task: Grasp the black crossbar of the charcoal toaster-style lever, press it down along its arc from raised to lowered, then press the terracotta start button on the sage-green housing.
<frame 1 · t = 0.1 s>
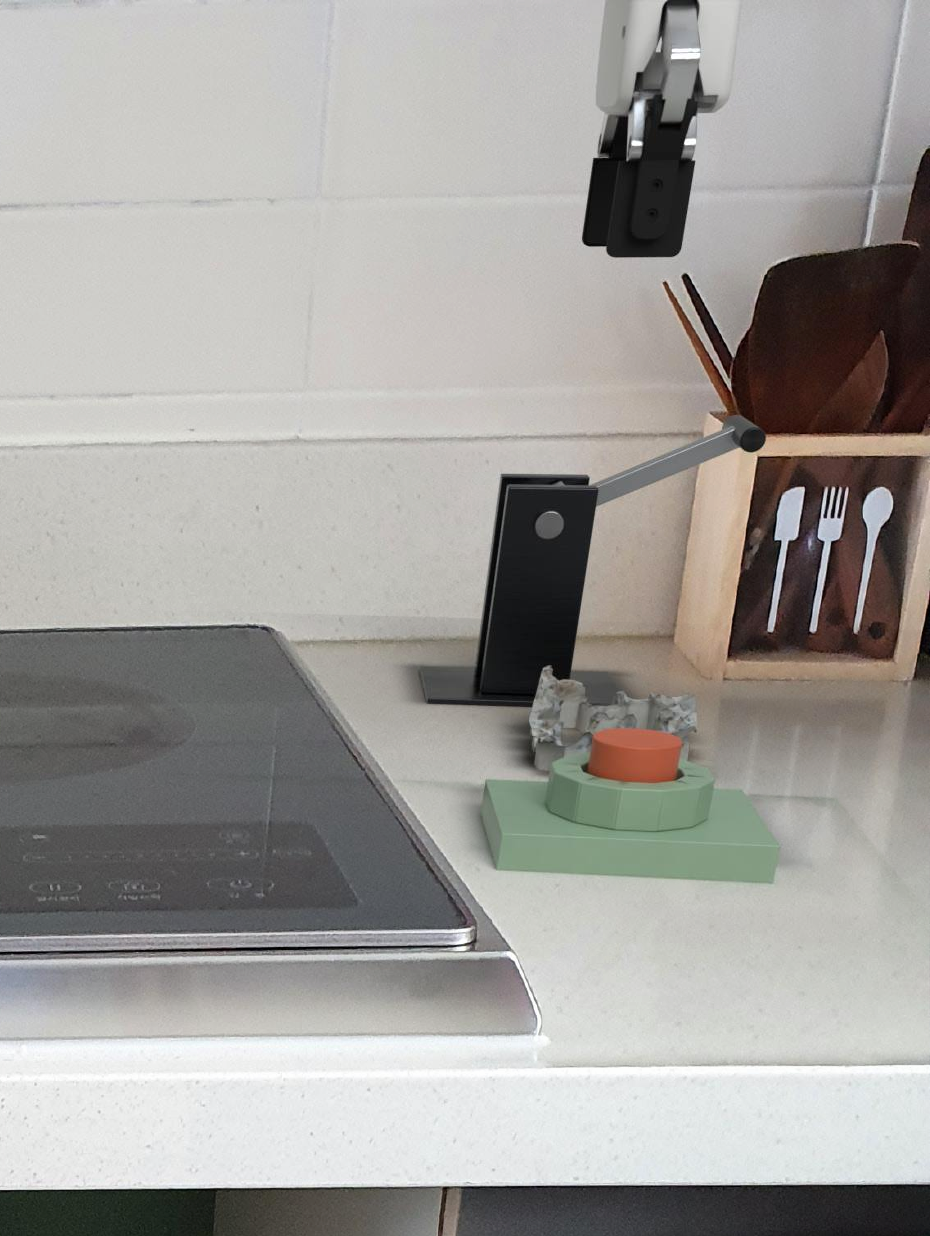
hand: (628, 251, 109), 23 cm above the countertop, tool pointing down, fingers open, 9 cm apart
egg carton: (604, 775, 111), on the countertop
button box: (619, 848, 100), on the countertop
lever: (634, 478, 117), point 12 cm above the countertop, hinge at 25.0°
button: (634, 758, 98), point 4 cm above the countertop, slide at 0.1 cm
bracket: (516, 706, 123), on the countertop
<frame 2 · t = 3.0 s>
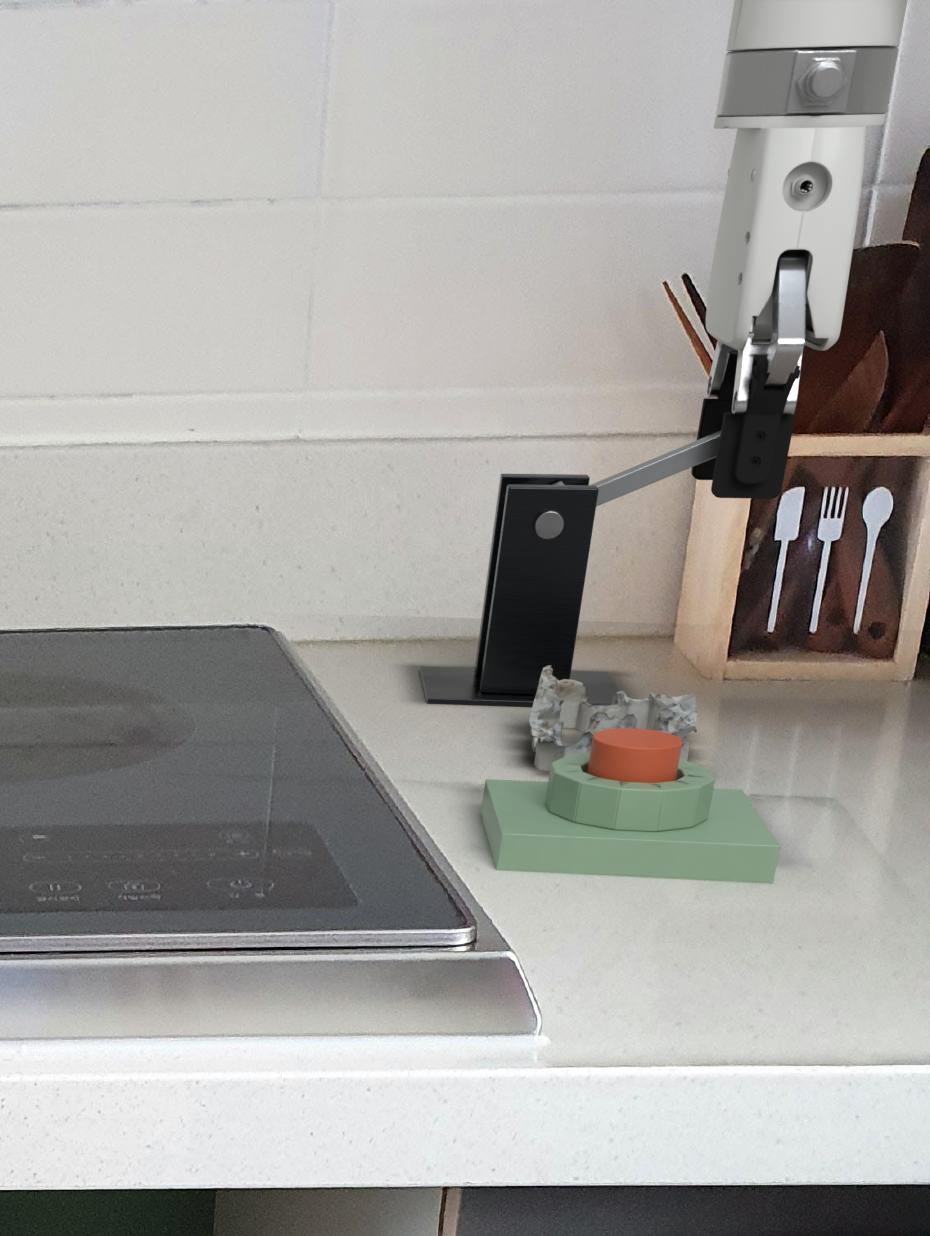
hand: (734, 484, 116), 12 cm above the countertop, tool pointing down, fingers closed on lever, 5 cm apart
lever: (634, 478, 117), point 12 cm above the countertop, hinge at 25.0°, touching gripper
everything else where it was.
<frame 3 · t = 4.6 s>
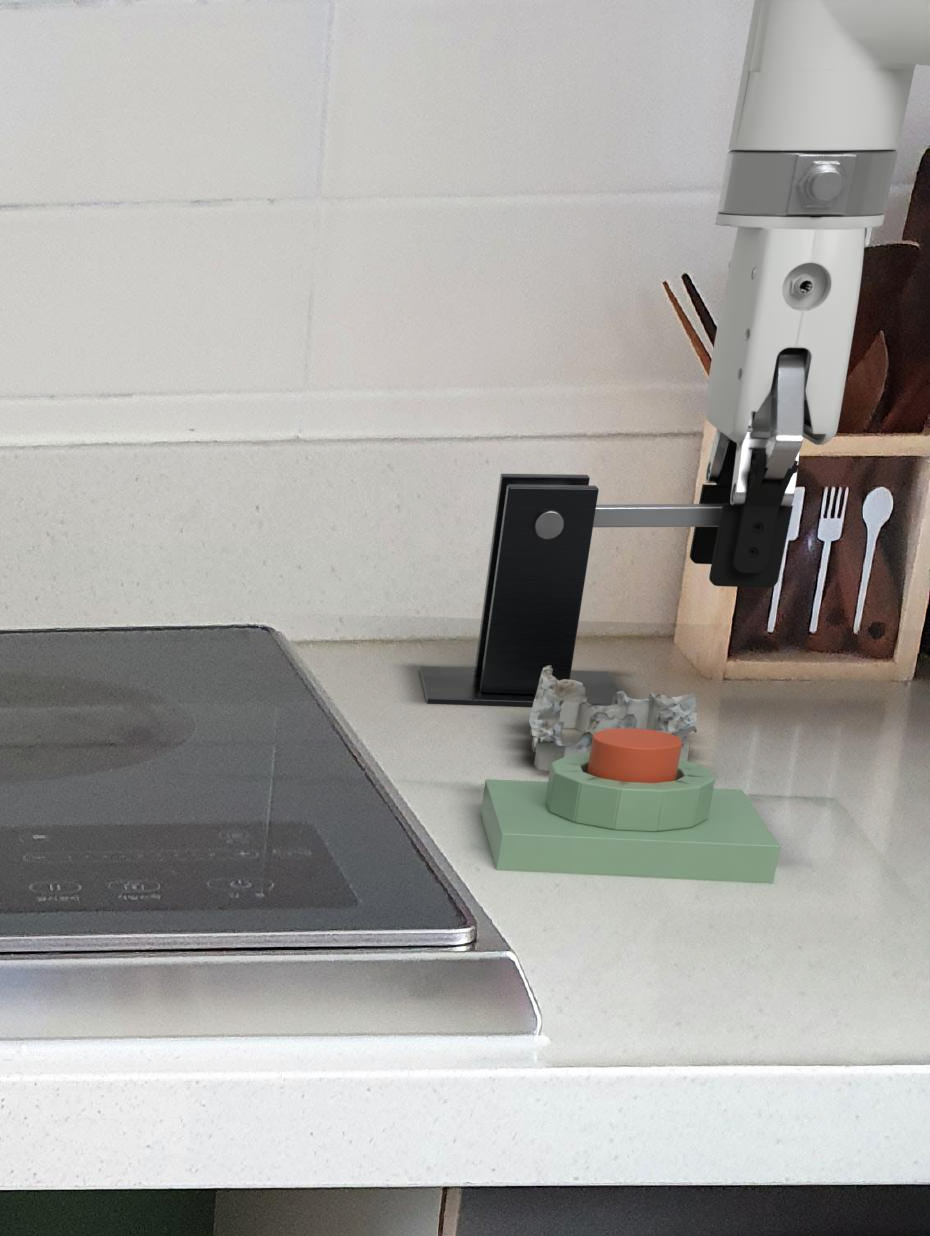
hand: (731, 570, 118), 7 cm above the countertop, tool pointing down, fingers closed on lever, 5 cm apart
lever: (636, 515, 118), point 10 cm above the countertop, hinge at 1.3°, touching gripper
everything else where it was.
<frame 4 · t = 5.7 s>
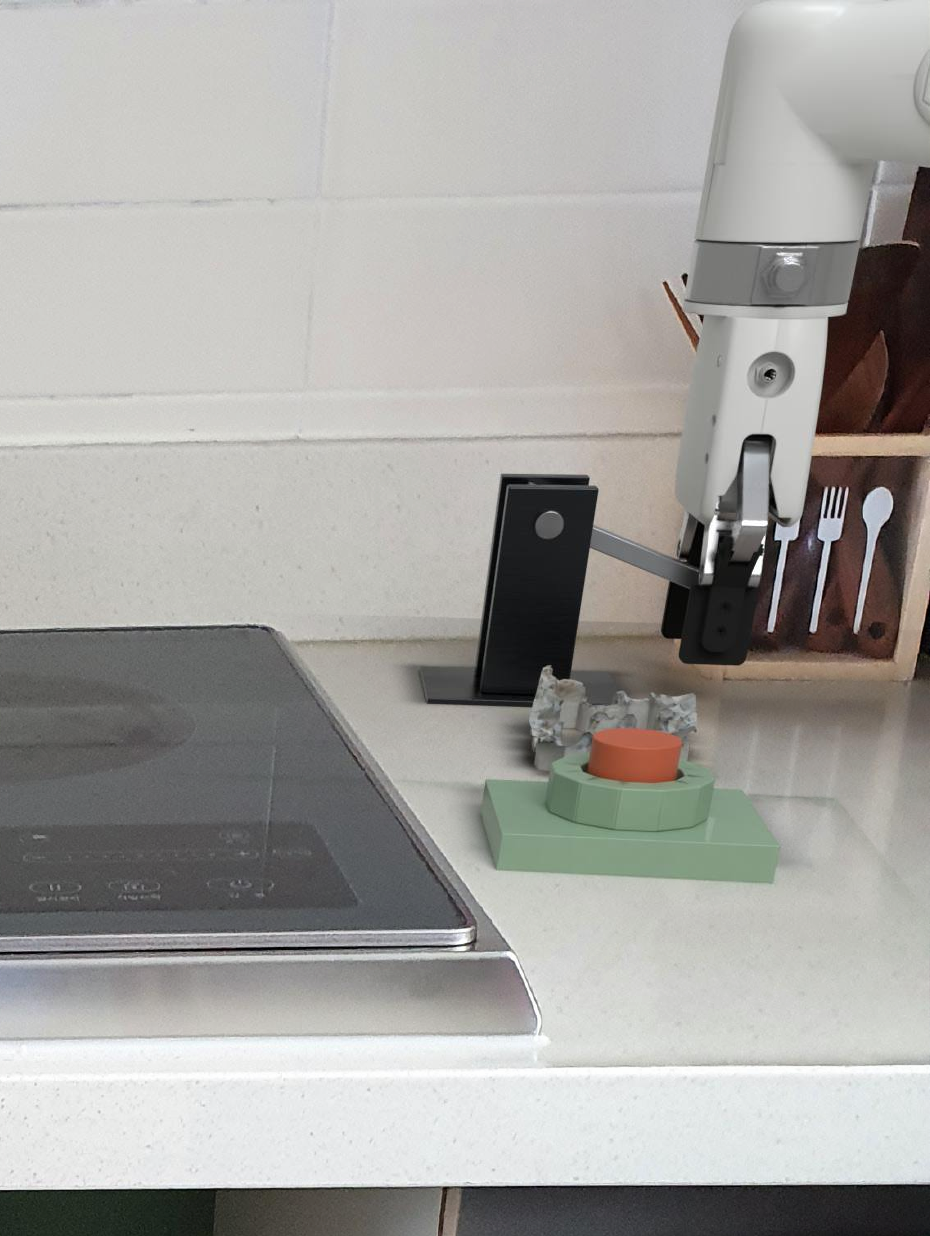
hand: (701, 647, 120), 3 cm above the countertop, tool pointing down, fingers closed on lever, 5 cm apart
lever: (625, 550, 119), point 8 cm above the countertop, hinge at -20.8°, touching gripper
everything else where it was.
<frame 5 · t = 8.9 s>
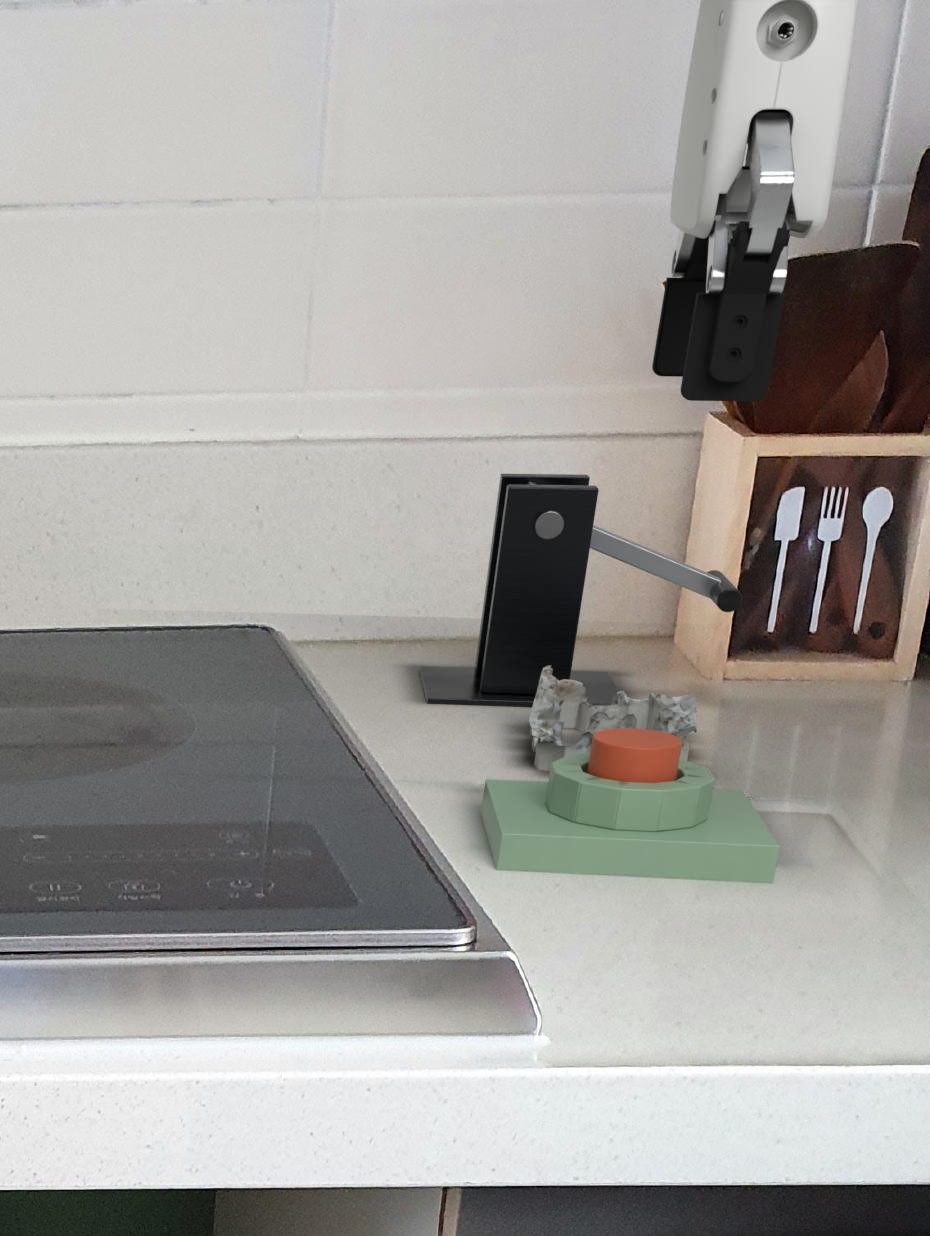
hand: (705, 387, 96), 19 cm above the countertop, tool pointing down, fingers open, 9 cm apart
lever: (625, 550, 119), point 8 cm above the countertop, hinge at -21.1°
everything else where it was.
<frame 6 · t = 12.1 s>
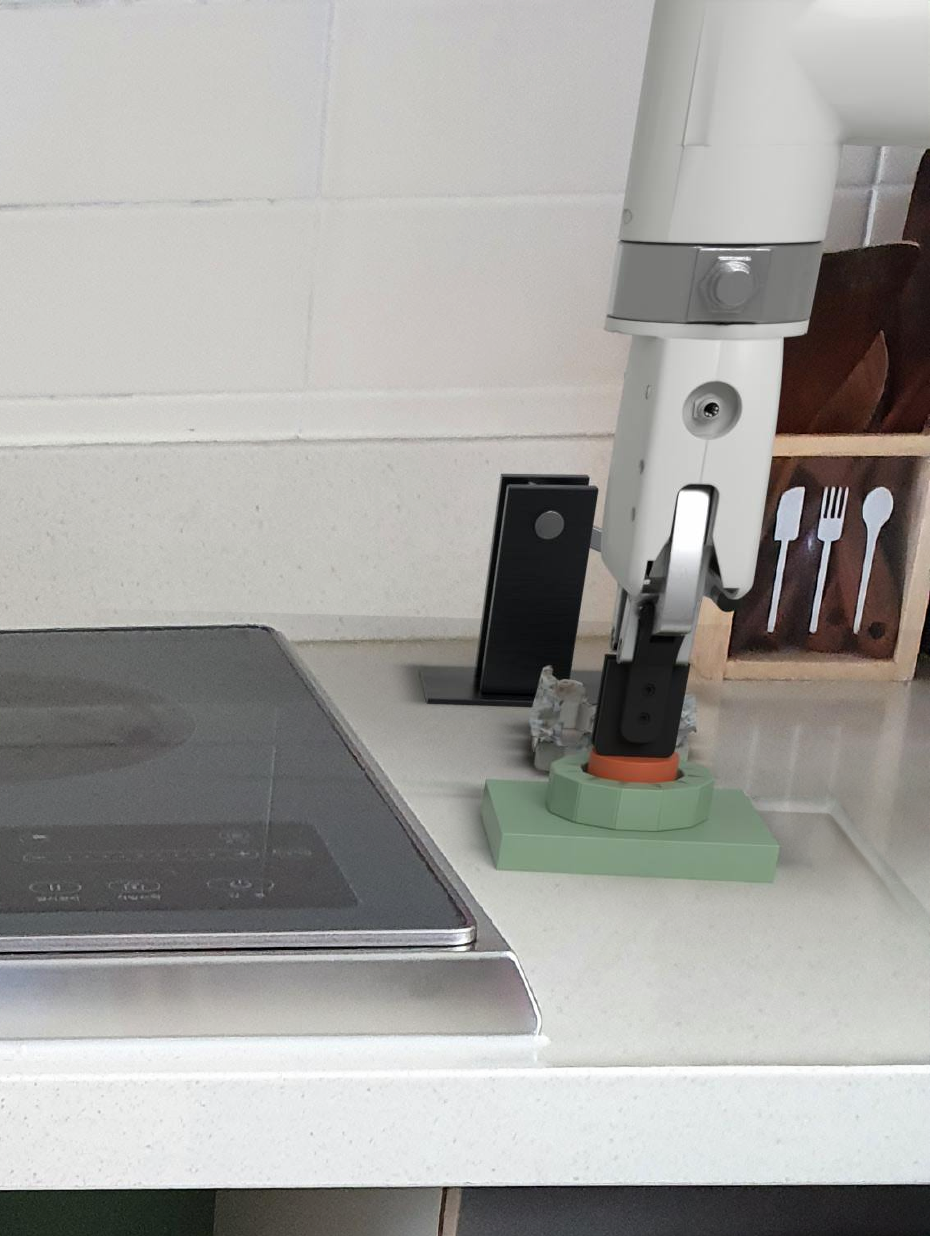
hand: (631, 751, 98), 4 cm above the countertop, tool pointing down, fingers closed
button: (631, 772, 98), point 3 cm above the countertop, slide at -0.5 cm, touching gripper
everything else where it was.
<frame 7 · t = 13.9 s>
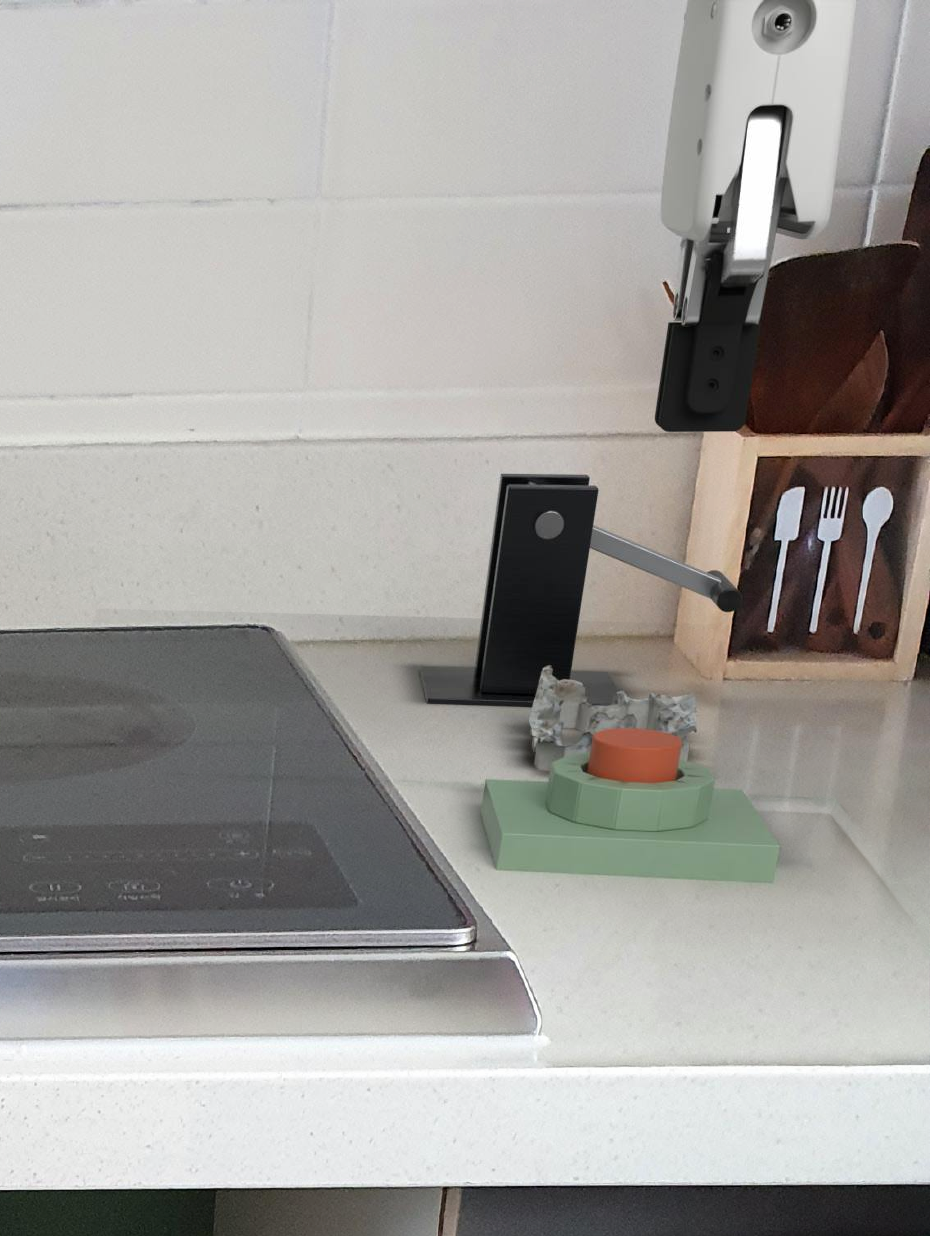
hand: (698, 428, 92), 18 cm above the countertop, tool pointing down, fingers closed
button: (634, 758, 98), point 4 cm above the countertop, slide at 0.1 cm
everything else where it was.
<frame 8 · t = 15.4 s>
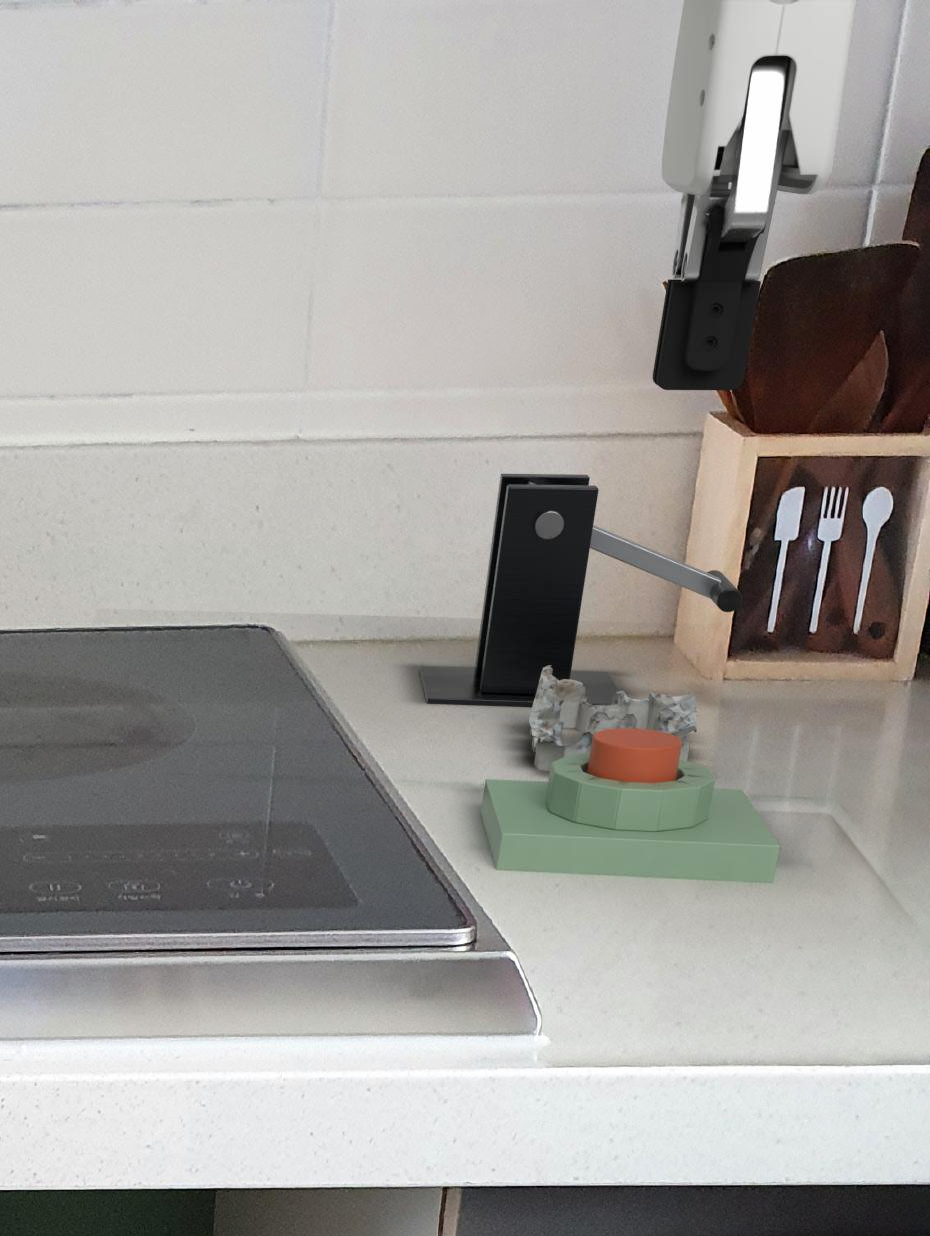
hand: (696, 386, 91), 19 cm above the countertop, tool pointing down, fingers closed
nothing on the countertop moved.
at the end: lever at -21° (first picture: +25°); button pushed in 1.1 cm at the most during the clip, back to where it started at the end; button slide at 0.1 cm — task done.
